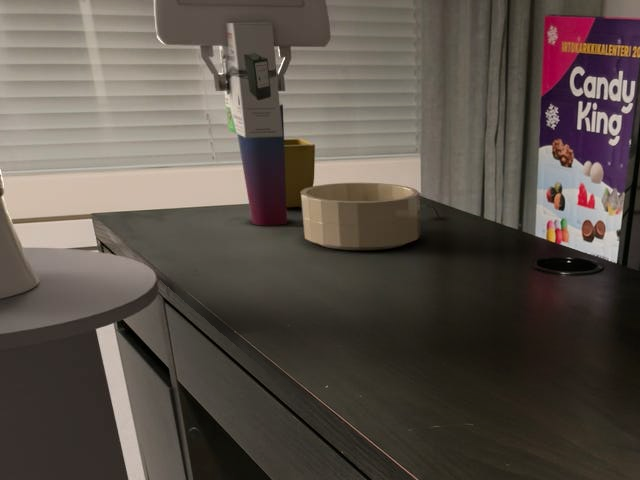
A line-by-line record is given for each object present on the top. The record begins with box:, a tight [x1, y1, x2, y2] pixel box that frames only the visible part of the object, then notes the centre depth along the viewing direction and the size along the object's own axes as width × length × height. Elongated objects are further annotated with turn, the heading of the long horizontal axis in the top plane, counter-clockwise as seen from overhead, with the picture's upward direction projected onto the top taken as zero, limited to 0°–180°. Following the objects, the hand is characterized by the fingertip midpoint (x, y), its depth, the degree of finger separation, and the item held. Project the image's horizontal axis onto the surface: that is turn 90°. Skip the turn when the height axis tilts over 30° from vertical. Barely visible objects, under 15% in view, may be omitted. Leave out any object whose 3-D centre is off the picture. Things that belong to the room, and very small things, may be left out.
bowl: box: [300, 182, 421, 251], centre depth 124 cm, size 16×16×6 cm
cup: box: [236, 103, 288, 227], centre depth 130 cm, size 7×7×15 cm
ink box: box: [218, 22, 283, 138], centre depth 112 cm, size 9×5×12 cm, turn 27°
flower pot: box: [284, 138, 316, 208], centre depth 143 cm, size 9×9×9 cm
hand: (250, 90), depth 112 cm, fingers closed on ink box, 5 cm apart
